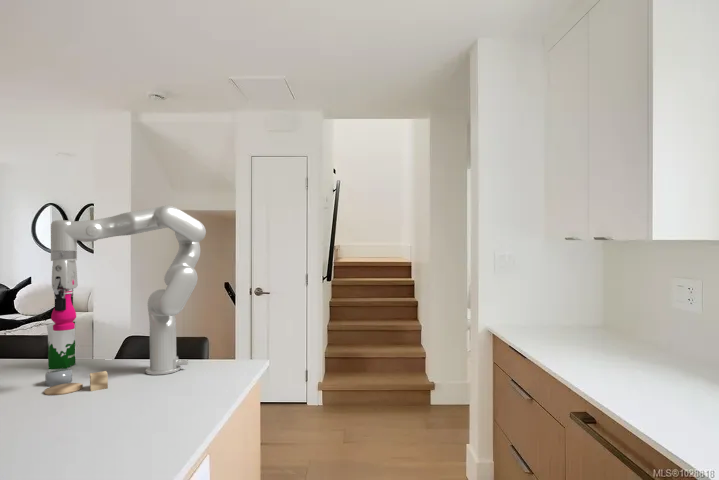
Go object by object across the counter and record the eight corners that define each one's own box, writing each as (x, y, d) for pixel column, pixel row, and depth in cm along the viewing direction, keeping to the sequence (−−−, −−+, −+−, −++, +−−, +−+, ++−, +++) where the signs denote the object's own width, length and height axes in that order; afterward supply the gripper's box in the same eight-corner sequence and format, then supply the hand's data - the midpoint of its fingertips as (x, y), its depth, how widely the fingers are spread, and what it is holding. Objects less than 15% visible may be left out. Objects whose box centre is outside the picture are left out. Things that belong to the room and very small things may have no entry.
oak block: (106, 385, 161) (106, 370, 161) (107, 388, 157) (107, 374, 157) (89, 387, 159) (89, 373, 159) (90, 391, 154) (90, 376, 154)
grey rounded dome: (73, 378, 170) (73, 367, 170) (70, 383, 163) (70, 372, 163) (47, 382, 166) (47, 371, 167) (43, 387, 159) (43, 375, 159)
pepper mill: (64, 331, 152) (63, 271, 153) (45, 330, 154) (45, 271, 154) (81, 327, 160) (81, 270, 160) (63, 327, 161) (63, 270, 161)
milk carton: (68, 369, 184) (67, 319, 184) (44, 370, 183) (43, 320, 183) (79, 363, 193) (78, 316, 193) (56, 364, 192) (55, 316, 192)
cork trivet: (87, 383, 163) (87, 381, 163) (76, 393, 152) (76, 391, 152) (52, 386, 160) (52, 384, 160) (38, 396, 149) (38, 394, 149)
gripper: (66, 256, 150) (66, 312, 149) (84, 255, 166) (84, 305, 166) (40, 257, 148) (40, 313, 148) (61, 256, 165) (61, 306, 164)
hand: (64, 308), depth 157 cm, fingers closed on pepper mill, 5 cm apart
